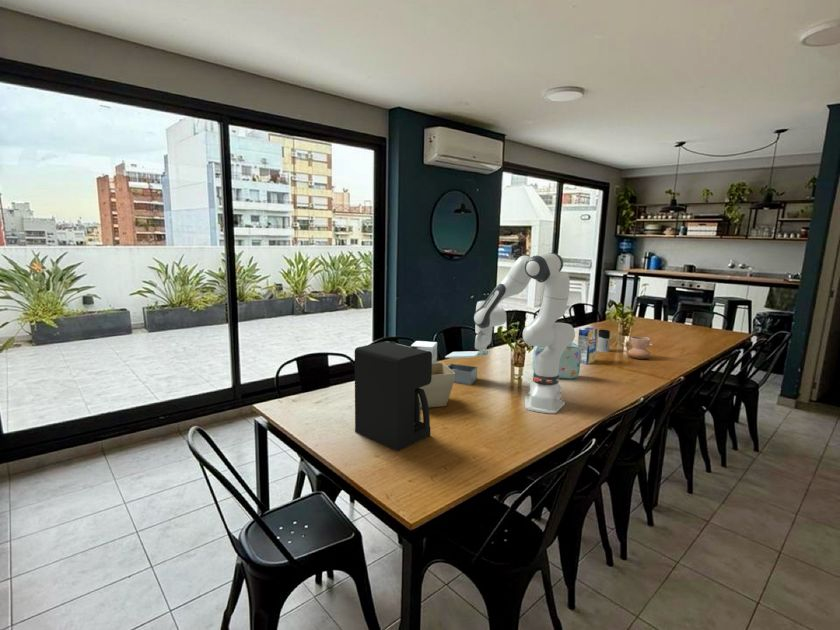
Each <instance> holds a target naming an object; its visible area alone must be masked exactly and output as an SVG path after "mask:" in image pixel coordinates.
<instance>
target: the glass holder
mask: <svg viewBox="0 0 840 630" xmlns="http://www.w3.org/2000/svg"><path fill="white" fill-rule="evenodd" d="M610 334H611V331H610V330H608V329H599V330H598V333H597V343H596V351H595V352H600V353H609V352H610V348H611V347H613V346H615V344H616V343H617V341H618V338H616V340H615V342H614V343H613V344H612V345H610V340H612V338H613V336H616V337H618V335H617V334H616V333H613V334H611V335H610Z"/></svg>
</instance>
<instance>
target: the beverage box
mask: <svg viewBox="0 0 840 630" xmlns="http://www.w3.org/2000/svg"><path fill="white" fill-rule="evenodd" d="M597 340H598V328H595V327H588V326H587V327H583V328H579V329H578V340H577V346H578V347H579V348H580V350H581V360H580V364H582V363H583V365H589V364H592V363H595V361H596V352H597V351H596V350H597Z"/></svg>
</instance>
